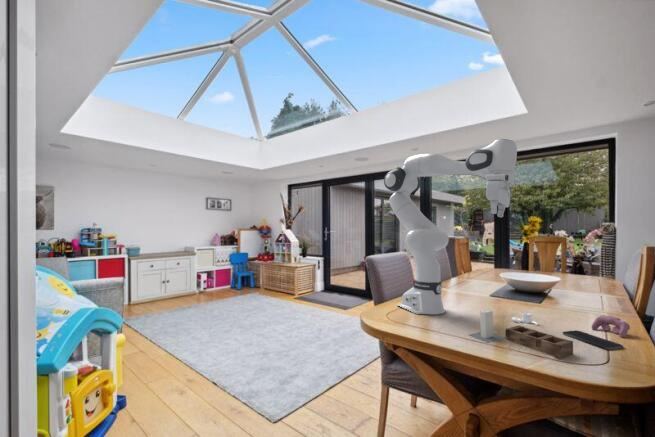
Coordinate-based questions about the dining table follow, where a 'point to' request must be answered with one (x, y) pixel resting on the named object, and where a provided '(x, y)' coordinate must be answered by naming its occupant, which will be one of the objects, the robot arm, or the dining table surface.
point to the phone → (593, 340)
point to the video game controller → (604, 321)
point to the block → (486, 323)
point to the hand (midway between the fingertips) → (496, 215)
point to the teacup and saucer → (525, 319)
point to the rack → (540, 341)
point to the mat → (490, 339)
